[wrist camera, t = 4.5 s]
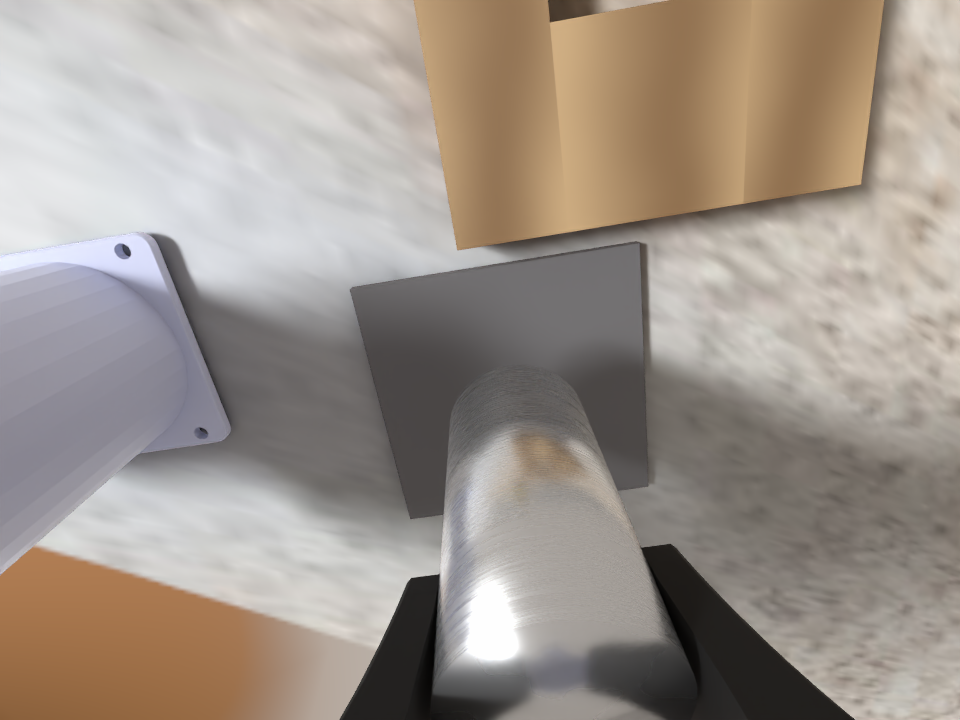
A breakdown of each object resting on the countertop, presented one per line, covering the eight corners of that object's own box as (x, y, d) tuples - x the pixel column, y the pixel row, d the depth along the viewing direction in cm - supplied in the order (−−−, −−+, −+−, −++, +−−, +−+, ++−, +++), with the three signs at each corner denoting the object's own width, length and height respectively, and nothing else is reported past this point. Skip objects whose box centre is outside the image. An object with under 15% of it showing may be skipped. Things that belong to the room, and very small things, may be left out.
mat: (411, 512, 21) (410, 519, 21) (352, 287, 17) (350, 290, 17) (645, 480, 21) (648, 486, 20) (635, 241, 17) (639, 243, 17)
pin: (453, 481, 15) (438, 788, 8) (446, 367, 14) (421, 624, 7) (579, 477, 16) (676, 780, 8) (588, 362, 14) (720, 614, 7)
